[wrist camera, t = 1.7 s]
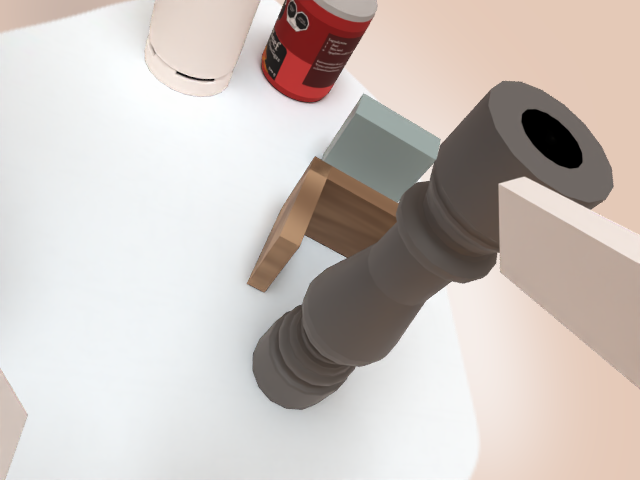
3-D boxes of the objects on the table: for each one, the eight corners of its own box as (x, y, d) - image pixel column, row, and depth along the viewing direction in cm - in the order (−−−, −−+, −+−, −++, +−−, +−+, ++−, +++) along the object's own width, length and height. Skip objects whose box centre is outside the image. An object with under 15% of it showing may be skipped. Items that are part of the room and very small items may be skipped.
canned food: (269, 39, 57) (309, -55, 49) (333, 74, 59) (383, -12, 50) (249, 79, 52) (290, -18, 44) (320, 116, 54) (373, 28, 46)
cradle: (370, 346, 41) (419, 309, 36) (246, 283, 40) (279, 235, 34) (389, 265, 47) (434, 223, 42) (281, 207, 45) (314, 156, 40)
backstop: (388, 212, 50) (436, 160, 44) (316, 171, 49) (355, 112, 43) (393, 191, 52) (440, 139, 46) (324, 152, 51) (363, 93, 45)
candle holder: (335, 340, 40) (600, 117, 22) (326, 419, 37) (636, 234, 18) (261, 315, 39) (477, 51, 20) (243, 396, 35) (488, 164, 16)
